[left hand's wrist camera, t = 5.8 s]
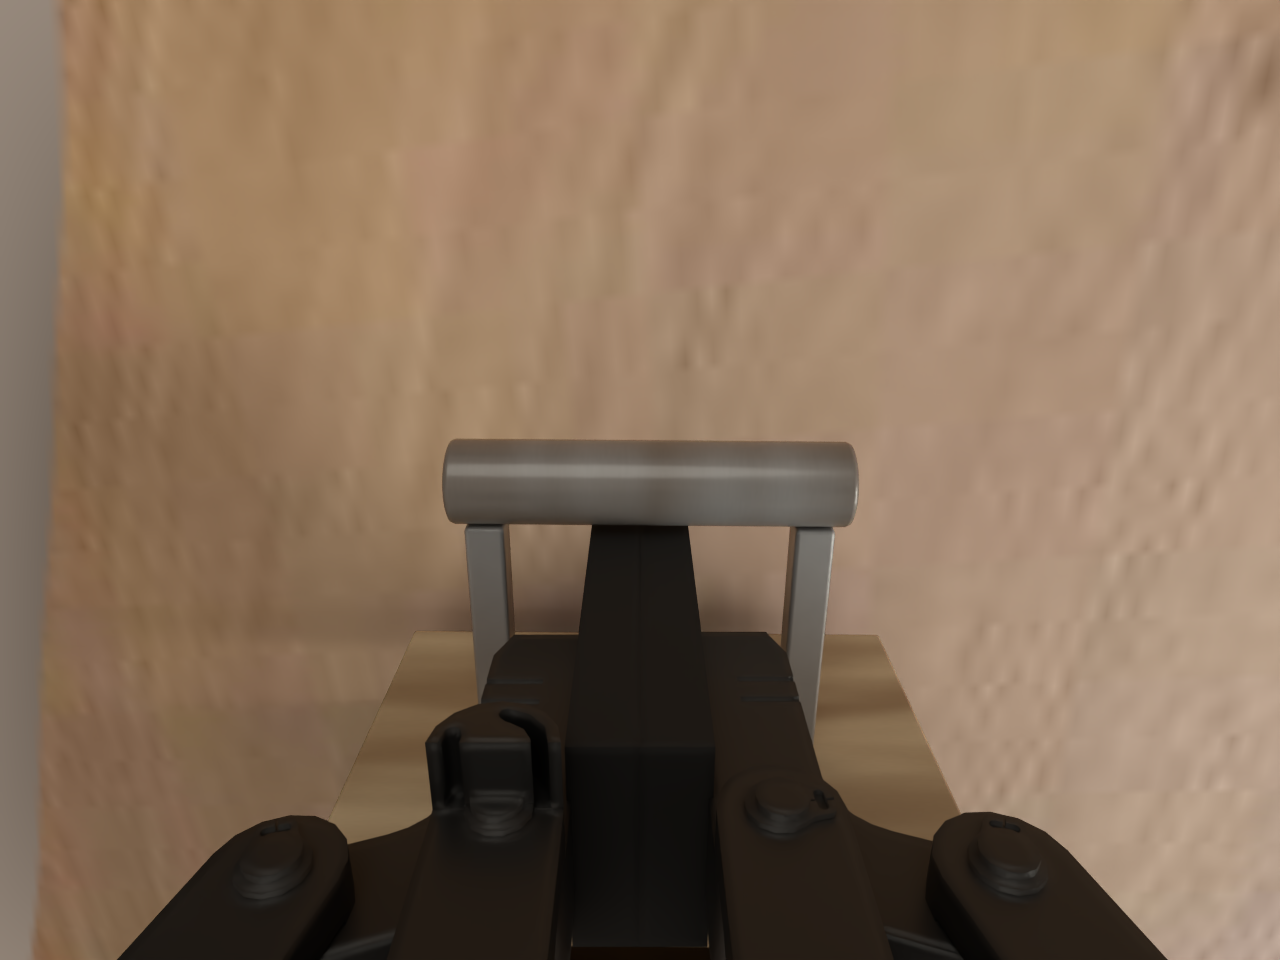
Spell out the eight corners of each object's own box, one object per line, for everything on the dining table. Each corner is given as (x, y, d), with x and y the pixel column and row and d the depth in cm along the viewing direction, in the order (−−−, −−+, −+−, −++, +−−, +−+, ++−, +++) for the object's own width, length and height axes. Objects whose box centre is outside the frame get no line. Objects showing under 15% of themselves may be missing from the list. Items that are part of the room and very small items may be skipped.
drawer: (387, 375, 16) (228, 524, 10) (912, 379, 16) (1077, 532, 10) (465, 1104, 24) (403, 1438, 18) (816, 1107, 24) (876, 1443, 18)
